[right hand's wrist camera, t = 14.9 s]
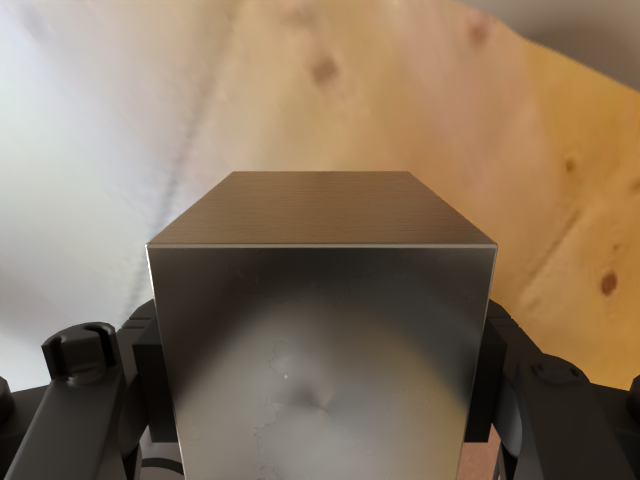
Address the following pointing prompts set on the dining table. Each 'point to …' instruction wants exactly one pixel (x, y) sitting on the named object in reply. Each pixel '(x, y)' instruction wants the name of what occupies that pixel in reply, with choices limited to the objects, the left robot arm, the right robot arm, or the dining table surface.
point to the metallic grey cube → (321, 326)
